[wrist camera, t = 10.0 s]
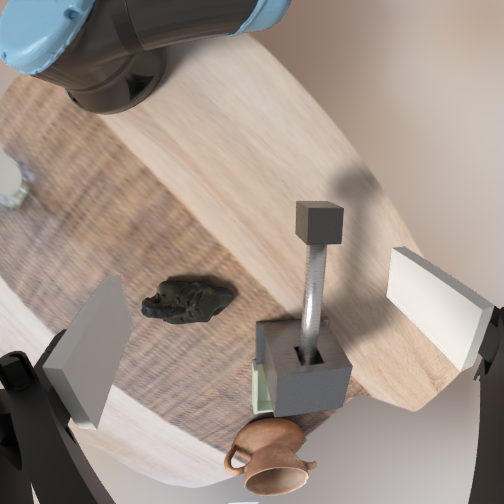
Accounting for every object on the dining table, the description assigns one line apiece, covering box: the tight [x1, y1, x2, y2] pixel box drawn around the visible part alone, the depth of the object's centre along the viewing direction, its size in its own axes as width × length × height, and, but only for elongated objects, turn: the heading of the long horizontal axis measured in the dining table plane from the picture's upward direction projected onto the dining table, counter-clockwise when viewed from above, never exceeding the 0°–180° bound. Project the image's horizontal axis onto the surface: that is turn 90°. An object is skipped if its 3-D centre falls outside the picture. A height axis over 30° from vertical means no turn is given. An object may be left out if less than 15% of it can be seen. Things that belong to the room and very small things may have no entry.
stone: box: [141, 281, 233, 324], centre depth 42 cm, size 7×13×5 cm, turn 91°
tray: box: [252, 360, 273, 414], centre depth 50 cm, size 11×13×3 cm
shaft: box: [295, 201, 344, 366], centre depth 37 cm, size 27×4×5 cm, turn 0°
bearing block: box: [256, 316, 353, 417], centre depth 42 cm, size 8×12×14 cm, turn 90°
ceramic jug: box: [224, 418, 317, 496], centre depth 49 cm, size 18×14×14 cm
